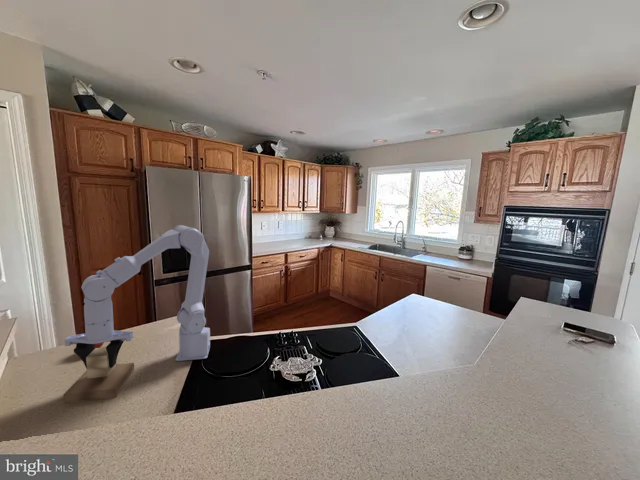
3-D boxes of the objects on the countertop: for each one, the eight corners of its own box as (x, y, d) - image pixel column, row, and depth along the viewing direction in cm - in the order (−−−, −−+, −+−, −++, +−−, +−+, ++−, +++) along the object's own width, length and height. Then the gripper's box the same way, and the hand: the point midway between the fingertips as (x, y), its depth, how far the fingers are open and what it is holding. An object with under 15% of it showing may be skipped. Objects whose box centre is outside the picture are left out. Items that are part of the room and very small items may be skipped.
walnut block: (134, 371, 77) (134, 362, 77) (116, 398, 67) (115, 388, 66) (90, 376, 74) (90, 366, 74) (64, 404, 64) (63, 394, 63)
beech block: (115, 365, 73) (115, 346, 72) (107, 376, 68) (106, 355, 68) (96, 367, 71) (95, 347, 71) (87, 378, 67) (86, 357, 66)
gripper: (137, 312, 74) (138, 355, 75) (75, 314, 70) (78, 360, 71) (126, 323, 67) (127, 370, 69) (57, 327, 63) (61, 377, 65)
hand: (101, 366), depth 70 cm, fingers closed on beech block, 4 cm apart
